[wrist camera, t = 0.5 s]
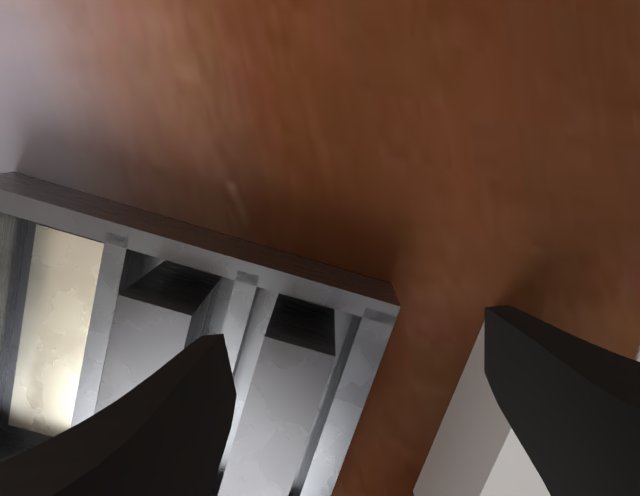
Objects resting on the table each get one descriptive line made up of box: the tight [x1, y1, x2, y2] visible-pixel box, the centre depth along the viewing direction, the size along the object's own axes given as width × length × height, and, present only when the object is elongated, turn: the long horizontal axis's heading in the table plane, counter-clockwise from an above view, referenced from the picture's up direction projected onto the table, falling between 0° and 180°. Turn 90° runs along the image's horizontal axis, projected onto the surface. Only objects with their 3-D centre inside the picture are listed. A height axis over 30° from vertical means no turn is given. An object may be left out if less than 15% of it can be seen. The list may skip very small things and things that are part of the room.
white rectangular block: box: [413, 320, 551, 496], centre depth 22 cm, size 12×3×6 cm, turn 164°
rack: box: [0, 172, 401, 496], centre depth 21 cm, size 16×20×6 cm
